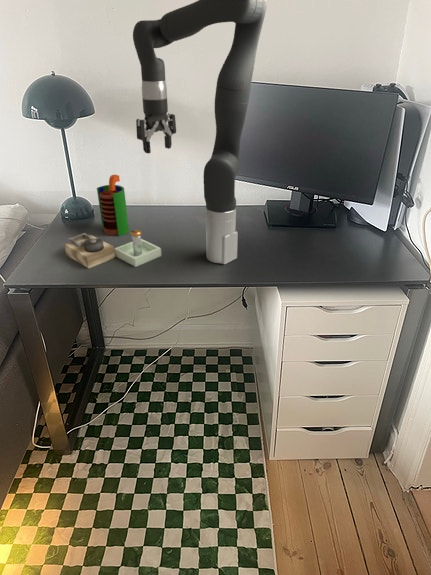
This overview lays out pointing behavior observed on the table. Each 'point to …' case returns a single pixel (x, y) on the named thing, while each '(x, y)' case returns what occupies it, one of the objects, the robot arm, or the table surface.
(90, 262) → the pulley block
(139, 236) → the pin
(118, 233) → the motor
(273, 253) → the table surface
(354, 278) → the table surface
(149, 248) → the tray
